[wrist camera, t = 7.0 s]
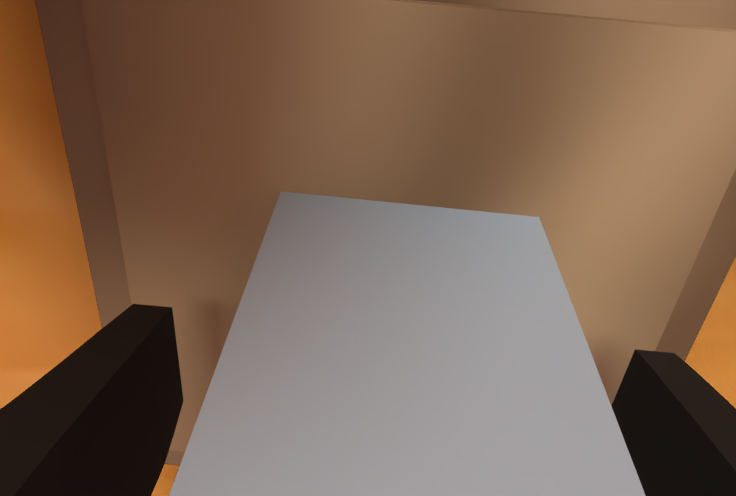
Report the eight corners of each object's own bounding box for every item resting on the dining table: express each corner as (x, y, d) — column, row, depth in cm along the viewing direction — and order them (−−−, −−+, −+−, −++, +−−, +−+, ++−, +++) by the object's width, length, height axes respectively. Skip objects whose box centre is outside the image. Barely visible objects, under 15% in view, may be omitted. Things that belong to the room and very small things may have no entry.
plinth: (791, -40, 10) (877, -17, 8) (593, 439, 17) (617, 512, 15) (79, -105, 10) (6, -97, 8) (157, 400, 17) (126, 467, 15)
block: (539, 216, 11) (663, 545, 6) (488, 399, 13) (543, 742, 8) (280, 191, 11) (169, 496, 5) (278, 379, 13) (200, 711, 8)
